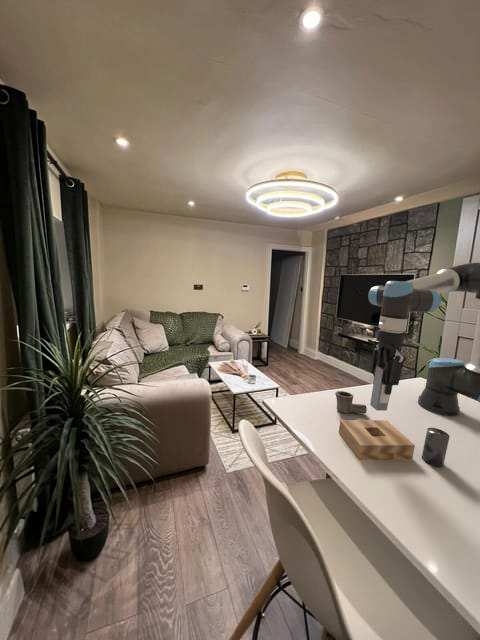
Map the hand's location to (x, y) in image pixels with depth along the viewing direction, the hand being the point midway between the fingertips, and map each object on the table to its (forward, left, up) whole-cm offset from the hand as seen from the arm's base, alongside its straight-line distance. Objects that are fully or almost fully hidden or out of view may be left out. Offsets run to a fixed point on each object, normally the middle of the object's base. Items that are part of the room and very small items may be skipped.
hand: (379, 399), depth 86 cm
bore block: (0, 0, -17) cm, 17 cm away
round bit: (-15, +8, -17) cm, 24 cm away
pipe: (-3, -22, -17) cm, 28 cm away
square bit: (0, 0, -3) cm, 3 cm away
